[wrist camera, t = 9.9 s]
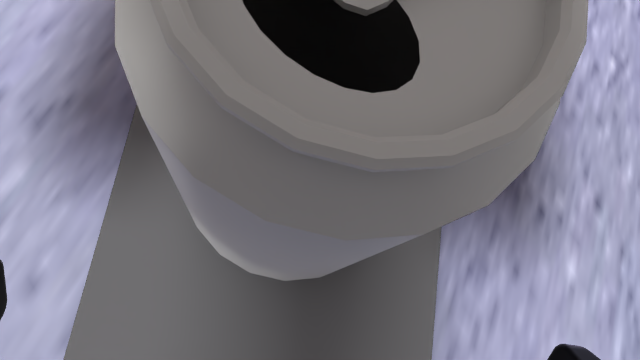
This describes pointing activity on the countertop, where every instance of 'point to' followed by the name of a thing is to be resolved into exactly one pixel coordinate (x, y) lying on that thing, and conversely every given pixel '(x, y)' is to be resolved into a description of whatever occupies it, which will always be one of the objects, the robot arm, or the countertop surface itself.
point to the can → (343, 115)
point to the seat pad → (236, 288)
